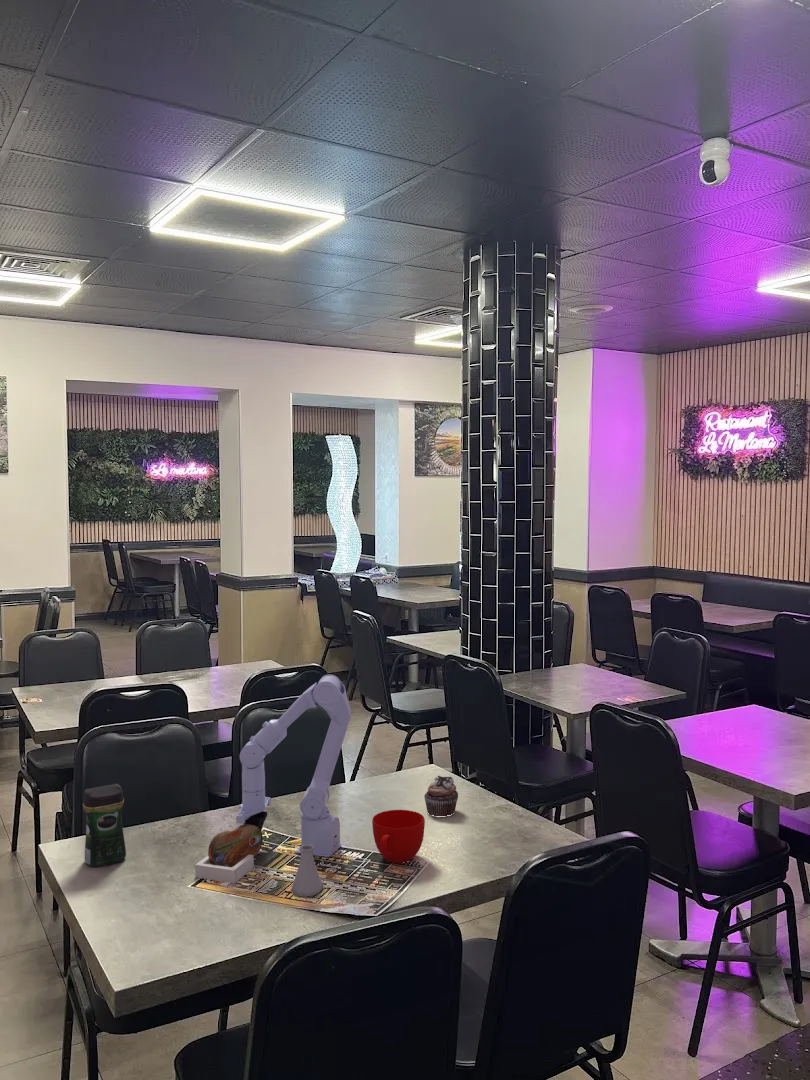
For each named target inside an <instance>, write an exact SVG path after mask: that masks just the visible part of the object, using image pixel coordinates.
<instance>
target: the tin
mask: <svg viewBox="0 0 810 1080" xmlns="http://www.w3.org/2000/svg"><path fill="white" fill-rule="evenodd" d="M262 844H263V832H262V831H261V830H260V829H259V828H258V827H257V826H255V825H250V824H241V825H238V826H235V827H233V828H230V829H228V830H225V831H222V832H219V833H218V834H216V835H215V836H214V837H213V838H212V839H211V841H210V843H209V845H208V850H207V853H208V855H207V856H209V860H210V862H211V864H212V865H217V866H224V867H231V868H232V867H234V866H235V865H236V864H237V863H239V862H240V861H241V860H243V859H244V858H245V857H246V856H248V855H253V859H254V858H255V857H256V856H257V855H258V853H259V852H260V850H261V848H262Z"/></svg>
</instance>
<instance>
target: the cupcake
mask: <svg viewBox="0 0 810 1080" xmlns="http://www.w3.org/2000/svg"><path fill="white" fill-rule="evenodd" d="M454 783H455V780H454V779H453V777H451V776H440V775H437V776H435V778H434V781H433V782H431V783H430V785H429V786H427V787H428V788H427V791H426V792H425V793H424V796H423V797H424V802H425V806H426V807H425V808H426V812H428V813H429V814H430V815H434V816H447V815H451V814H453V813H454V812H455V813H456V807H457V802H458V798H459V792H458V791H457V786H456V784H454ZM428 813H427V814H428ZM455 813H454V814H455ZM430 815H429V816H430Z"/></svg>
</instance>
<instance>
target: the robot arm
mask: <svg viewBox="0 0 810 1080" xmlns="http://www.w3.org/2000/svg"><path fill="white" fill-rule="evenodd" d="M318 706H320V707H321V708H322V709H324V710H325V712H326V713H327V715H328V716H329V718H330V723H329V727H328V730H327V732H326V735H325V739H324V742H323V744H322V748H321V751H320V754H319V757H318V761H317V763H316V767H315V770H314V774H313V776H312V780H311V782H310V785H309V786H308V787H307V789H306V790H305V792H304V796H303V798H302V799H301V801H300V804H299V808H300V829H301V832H300V838H301V841H300V843H301V845H300V846H299V847H298V848H297V849H296V850H295V851H294V852H295V854H300V855H301V851H300V850H299V848H300V847H301V846H302V845H306V844H307V845H312V846H314V849H313V856H315V857H323V856H324V858H330V857H331V856H332V855H334V853H335V852H336V851H337V850H339V849H340V848H341V847H342V843H341V824H340V823H341V822H340V818H339V817H338V816H334V815H332V814H331V813H330V810H329V808H328V806H327V804H328V802H329V800H330V790H329V788H330V785H331V780H332V777H333V774H334V771H335V767H336V764H337V762H338V758H339V756H340V752H341V748H342V746H343V743H344V739H345V737H346V733H347V730H348V726H349V723H350V720H351V717H352V711H351V707H350V702H349V700H348V695H347V691H346V687H345V685H344V683H343V682H342V681H341V680H340V678H339V677H338V676H337V675H335V674H324V675H323V676H322V677H321V678H320V679H319V680H318V682H315V683H314V684H312V685H311V686H309V687H308V688H307V689H306V690H305V691H303V693H302V694H300V695H299V697H297V699H296V700H295V701H294V702H293V703H292V704H291V705H290V706H289V707H288V709H286V711H284V713H283V714H282V715H280V717H279V718H278V719H277V718H276V719H270V720H269V721H265V722H263V724H262V725H261V726H262V728H261V729H260V730H259V731H258V732H257V733H256V734H255V735H252V736H251V737H250V738H249V741H248V742H247V743H246V744H245V745H244V746H243V748H242V749H241V750H240V753H239V761H240V763H241V765H242V766H241V768H242V769H241V770H242V772H241V782H242V783H241V786H242V787H241V790H242V791H241V793H242V796H241V797H242V798H241V799H242V801H241V804H239V805H238V809H239V812H238V813H237V814H236V816H235V817H236V818H235V820H236V824H241V825H243V824H250V825H255V826H257V827H258V828H259V829H260V830H261V832H262V831H263V827H264V823H265V822H266V819H267V818H268V811H266V809H267V807H269V806H271V805H272V804H271V803H272V802H271V799H272V798H271V797H270V796H269V797H268V796H266V776H265V775H266V771H265V760H264V759H265V757H267V755H268V754H270V753H271V752H272V751H273V750H274V749H275V748H276V747H277V746H278V745H279V744H280V743H281V742H282V741H283V740H284V739H285V738H286V737H287V735H288V731H287V729H288V728H289V727H290V726H291V725H292V724H293V723H294V722H295V721H296V720H297V719H298V718H299V717H300V716H301V715H303V714H304V712H306V711H307V710H308V709H312V708H313V709H315V708H317V707H318Z"/></svg>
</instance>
